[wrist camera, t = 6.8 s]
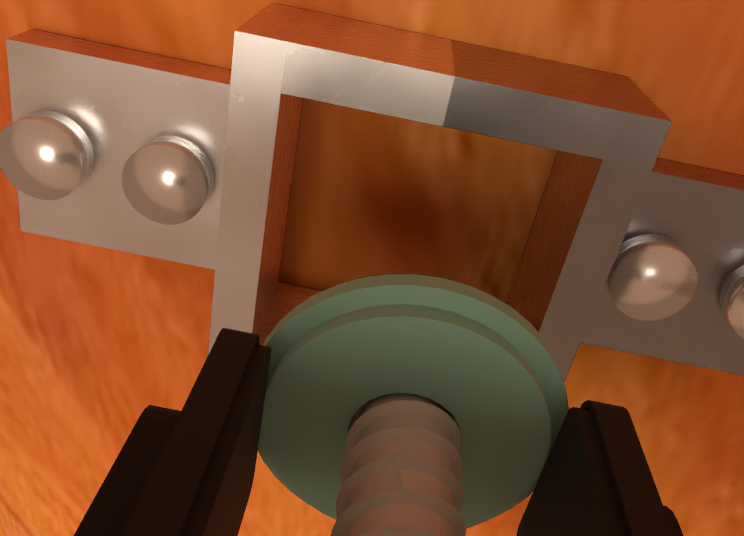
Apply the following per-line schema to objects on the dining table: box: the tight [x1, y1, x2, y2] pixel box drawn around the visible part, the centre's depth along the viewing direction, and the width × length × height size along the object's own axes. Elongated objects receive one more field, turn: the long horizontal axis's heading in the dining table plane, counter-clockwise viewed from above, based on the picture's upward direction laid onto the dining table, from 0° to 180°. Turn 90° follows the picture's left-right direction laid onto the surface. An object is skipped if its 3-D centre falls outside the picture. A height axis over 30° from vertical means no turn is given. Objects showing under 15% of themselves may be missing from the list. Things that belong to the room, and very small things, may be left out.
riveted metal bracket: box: [0, 3, 744, 381], centre depth 17 cm, size 20×8×4 cm, turn 80°
